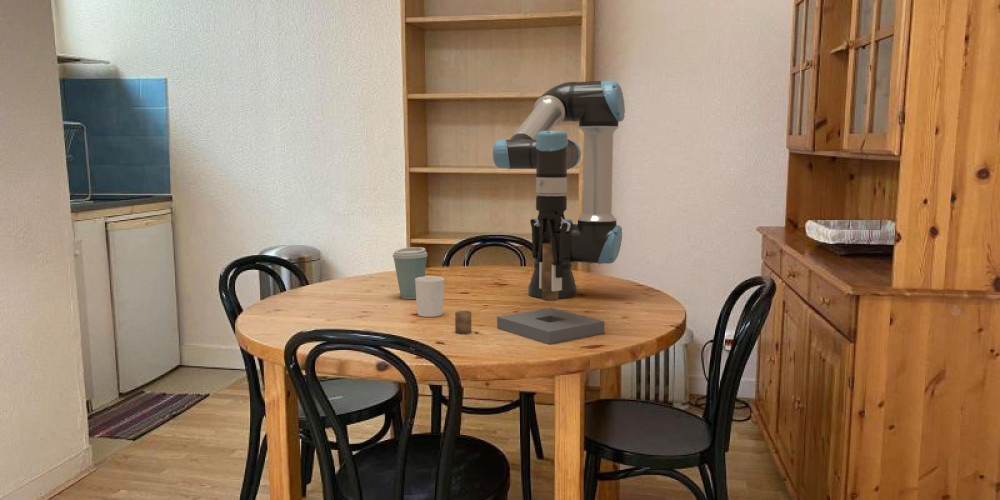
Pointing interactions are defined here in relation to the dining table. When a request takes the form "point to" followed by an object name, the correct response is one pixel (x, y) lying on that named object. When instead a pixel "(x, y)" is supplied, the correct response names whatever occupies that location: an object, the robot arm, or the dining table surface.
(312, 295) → the dining table surface
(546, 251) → the tall pin
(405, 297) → the disposable coffee cup
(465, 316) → the short pin
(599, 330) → the hole plate
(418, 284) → the white cup
